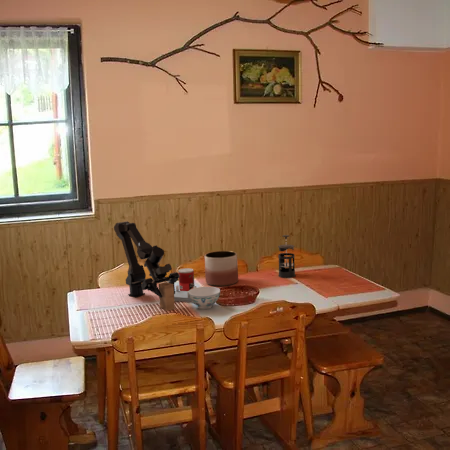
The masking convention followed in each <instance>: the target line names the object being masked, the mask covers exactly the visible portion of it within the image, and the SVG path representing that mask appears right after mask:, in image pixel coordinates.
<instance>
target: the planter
mask: <svg viewBox="0 0 450 450" xmlns="http://www.w3.org/2000/svg"><path fill="white" fill-rule="evenodd" d="M204 274H205V276H204V277H205V282H206V284H208V285H210V286H212V287H226V286H232V285H235V284H236V283H237V282H238V281H239V267H238V253H237V252H235V251H232V250H215V251H209V252H207V253H205V254H204Z"/></svg>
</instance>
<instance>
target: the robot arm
mask: <svg viewBox="0 0 450 450" xmlns="http://www.w3.org/2000/svg"><path fill="white" fill-rule="evenodd" d="M113 230H114V232H115V235H116V236H117V237H118V238H119V239H120V240H121V243H122V246H123V250H124V253H125V257H126V260H127V263H128V269H127V276H126V278H125V285H128V286H129V293H128V294H127V296H128V295H129V296H128V297H133V298H134V297H135V298H139V297H141V296H144V295H145V294H146V292H144V291H145V290H147V291H148V292H151V293H153V294H155V295H156V296H158V298H159V297H160V298H162V295H161V292H160V291H159V286H158V284H160V283H164V282H168V283H171V284H173V286H174V294H175V291H176V286H175V283H176V282H177V281H179V277H180V275H179V273H178V272H177V271H174V272H171V273H170V271H171V270H172V265H171V264H170V263H166V264H165V265H164V266H162V265H161V266H160V262H161V261H162V259H163V257H164V255H165V251H164V249H163V248H161V247H159V246H158V245H157V244H155V245H153V246H152V245H151V243H149V242H147V241H146V240H145V239H144V237H143V235H142V234H141V233H140V231H139V229H138V228H137V224H136V223H135V222H129V221H127V220H126V221H121V222H116V223H115V224H114V227H113ZM133 243H134V244H133ZM134 245H135V247H136V251H135V248H134ZM136 254H137V255H136ZM137 256H138V257H137ZM138 258H139V259H140V260H145V261H144V263H143V265H142V264H140V263H139V261H138ZM145 267H146V269H147V270H148V272H149V274H148V276H149V278H146V276H147V273H146V271H145V269H144V268H145ZM167 273H169V275H168V274H167Z"/></svg>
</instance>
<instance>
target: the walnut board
mask: <svg viewBox="0 0 450 450" xmlns="http://www.w3.org/2000/svg"><path fill="white" fill-rule="evenodd" d="M157 287H158V289H159V291H160V292H161V295H162V298H160V297H159V296H158V300H159V308H160V310H163V311H166V312H170V311H172V310H175V309H176V304H175V302H176V301H174V287H175V285H174V286H173V284H171V283H168V282H167V281H165V282H161V283H157Z"/></svg>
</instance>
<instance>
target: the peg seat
mask: <svg viewBox="0 0 450 450" xmlns="http://www.w3.org/2000/svg"><path fill="white" fill-rule="evenodd" d="M194 288H197V286H195V285H194ZM188 292H189V291H180V289H179V284H177V285H176V284H175V294H174V302H183V303H184V302H186V303H187V302H189V303H191V302H192V301H191V299H190V297H189V293H188Z"/></svg>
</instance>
